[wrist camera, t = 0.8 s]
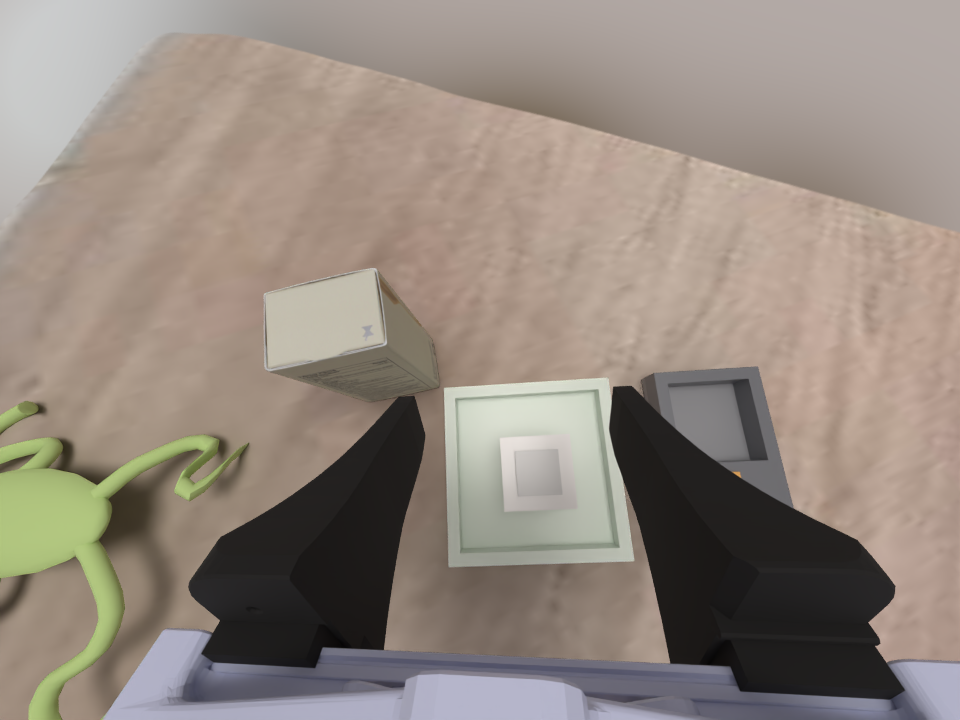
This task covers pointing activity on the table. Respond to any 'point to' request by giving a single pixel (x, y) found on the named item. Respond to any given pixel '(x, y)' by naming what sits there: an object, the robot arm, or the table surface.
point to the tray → (479, 486)
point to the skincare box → (348, 337)
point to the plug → (538, 473)
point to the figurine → (75, 530)
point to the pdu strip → (724, 421)
